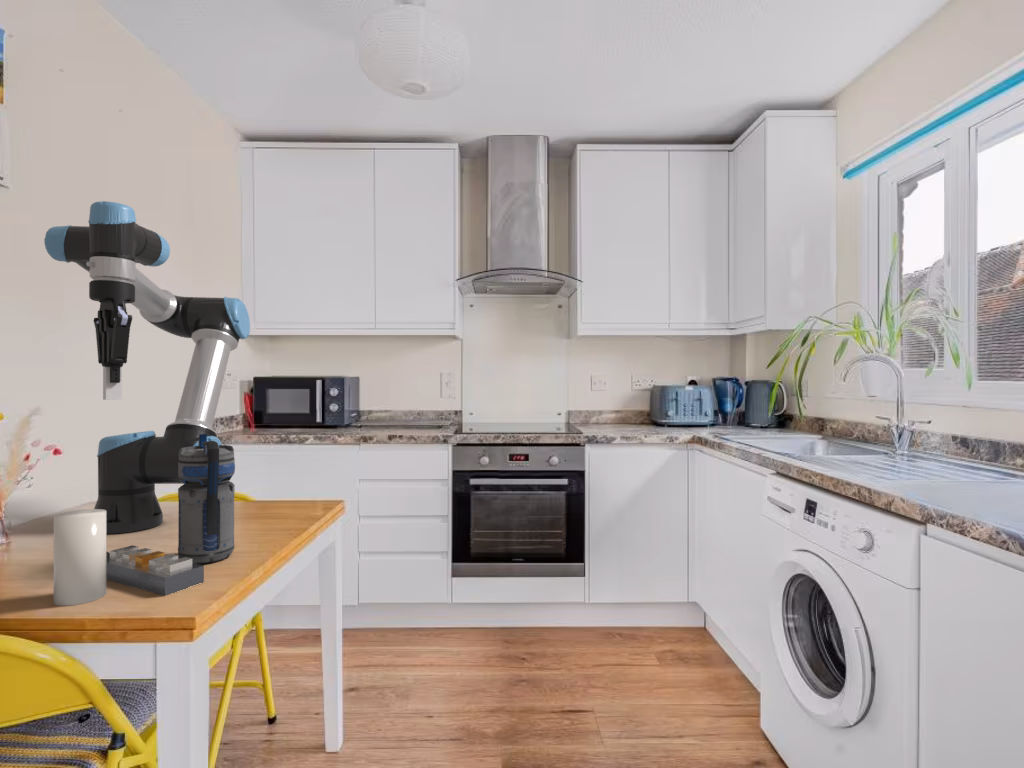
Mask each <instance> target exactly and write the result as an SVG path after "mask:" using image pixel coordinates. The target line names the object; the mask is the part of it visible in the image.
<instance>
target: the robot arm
mask: <svg viewBox="0 0 1024 768" xmlns="http://www.w3.org/2000/svg"><path fill="white" fill-rule="evenodd" d="M136 218H137V217H136V212H135V209H133V208H132V207H131V206H130V205H127V204H125V203H120V202H116V201H114V202H113V201H104V200H102V201H101V200H100V201H96V202H93V203H91V205H90V207H89V217H88V222H87V223H88V225H89V226H87V225H86V226H79V225H70V224H69V225H68V224H67V225H61V226H60V225H59V226H57V225H56V226H52V227H50V228H48V229H47V231H46V233H45V235H44V236H45V237H44V241H43V242H44V246H45V247H44V248H45V249H46V252H47V254H48V255H49V256H50V257H51V258H52V259H53V260H55V261H58V262H64V263H67V264H68V263H75V264H77V265H78V266H80V267H81V268H83V269H84V270H85V272H88V273H89V278H90V279H91V281H89V283H88V284H89V285H88V289H89V291H88V293H89V295H88V298H89V299H90V300H91V301H94V302H98V303H99V309H98V311H97V317H94V319H93V324H94V327H95V338H96V347H97V359H98V360H97V361H98V364H101V367H102V400H105V401H110V400H111V401H113V400H118V401H119V400H122V399H123V398H122V397H123V396H122V391H123V390H122V383H123V379H122V376H123V375H122V370H123V369H122V368H123V367H124V364H127V363H128V354H129V353H128V351H129V343H130V342H129V341H130V330H131V326H132V321H133V315H132V314H128V311H127V306H126V304H131V305H132V306H133V307H135V308H136V309H138V310H139V314H140V316H141V317H142V318H143V319H144V320H146V321H147V322H148V323H150V324H152V325H153V326H154V327H156V328H158V329H160V330H162V331H164V332H166V333H169V334H171V335H174V336H177V337H179V338H180V337H181V338H184V339H185V338H186V339H191V340H192V341H193V343H195V346H194V349H193V352H192V357H191V360H190V363H189V364H190V365H189V368H188V372H187V375H186V379H185V382H184V386H183V389H182V392H181V394H182V395H181V396H180V401H179V405H178V409H177V413H176V416H175V420H174V421H173V422H171V423H169V424H168V425H166V427H165V430H164V434H163V436H156V435H157V434H156V432H155V431H154V430H146V431H138V432H132V433H124V434H116V435H111V436H110V435H109V436H105V437H103V438H101V439H100V440H99V442H98V447H97V448H98V449H97V455H96V457H97V500H96V503H95V506H94V508H93V509H103V510H106V535H108V534H109V535H110V534H124V533H133V532H138V531H143V530H149V529H152V528H155V527H158V526H161V525H162V524H163V523H164V514H163V510H162V508H161V505H160V502H159V500H158V498H157V495H156V491H155V490H156V488H155V487H156V484H157V485H170V484H171V485H172V484H173V485H175V484H176V485H177V484H178V485H179V484H180V485H181V484H182V485H184V484H183V482H182V481H181V480H180V479H179V477H178V461H179V451H180V449H181V448H184V447H191V446H199V434H207V441H215V442H217V443H218V445H223V443H222V442H221V440H220V439H219V438H218V437H217V436H218V434H217V432H216V431H215V430H214V428H213V425H214V421H215V418H216V412H217V408H218V406H219V405H218V404H219V400H220V396H221V392H222V387H223V383H224V378H225V375H226V370H227V367H228V366H227V365H228V362H229V358H230V354H231V352H233V351H235V350H236V349H237V348H238V345H239V341H240V340H245V339H248V338H249V336H250V332H251V321H250V317H249V312H248V309H247V307H246V304H245V303H244V302H243V300H241V299H239V298H236V297H227V296H224V297H205V296H202V297H198V296H195V297H193V296H181V295H180V296H179V295H175V294H173V293H172V292H171V291H169V290H166V289H162V288H161V287H159V285H157V284H156V283H155V282H153V281H152V280H151V279H150V278H149V277H147V275H145V274H144V273H143V272H142V271H140V270H139V269H138V268H137V267H136V264H140V265H143V266H145V267H160V266H162V265H163V264H164V263H166V262H167V261H168V259H169V257H170V255H171V248H170V243H168V241H167V239H166V238H165V237H163V236H161V235H160V234H159V233H157V232H156V231H153V230H150V229H148V228H146V227H143V226H141V225H139V224H138V223H136V222H137V219H136Z"/></svg>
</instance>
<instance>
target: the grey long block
mask: <svg viewBox="0 0 1024 768" xmlns="http://www.w3.org/2000/svg"><path fill="white" fill-rule="evenodd" d="M109 553H110V557H109V558H106V581H110V582H113V581H114V583H117V584H120V583H121V585H125V586H127V585H128V586H127V587H131V588H134V587H135V588H134V589H137V590H142V591H145V590H146V591H145V592H149V593H152V594H157V595H159V594H160V596H163V595H164V596H163V597H166V595H167V596H170V595H172V594H171V593H173V594H176V593H178V592H177V591H179V592H181V591H180V590H182V591H184V590H183V589H185V590H187V589H186V588H188V587H190V586H193V585H196V584H199V583H202V584H204V583H205V565H204V564H195V563H192V559H191V558H187V557H184V558H179V556H178V554H173V553H171V554H170V553H169V554H166V555H165V553H166V552H163V551H161V550H157V551H153V552H152V549H150V548H146V547H144V548H139V546H137V545H133V544H132V545H129V546H124V547H121V548H120V547H119V548H116V549H112V550H109ZM203 582H204V583H203ZM199 585H200V584H199ZM196 586H197V585H196ZM193 587H194V586H193ZM188 589H189V588H188ZM175 592H176V593H175ZM169 594H170V595H169Z"/></svg>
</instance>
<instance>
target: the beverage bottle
mask: <svg viewBox="0 0 1024 768" xmlns="http://www.w3.org/2000/svg"><path fill="white" fill-rule="evenodd" d="M234 451H235V450H234V448H233V445H225V444H222V445H218V443H217V442H215V441H207V434H199V446H191V447H184V448H181V449H180V451H179V461H178V477H179V479H180V480H181V481H182V482H183V484H182V485H180V486H179V488H178V487H177V488H178V489H177V499H178V544H177V545H178V546H177V555H178V559H180V558H184V557H187V558H191V559H192V563H195V564H199V565H204V564H211V563H215V562H219V561H222V560H224V559H225V558H228V557H230V556H231V555H232V554H233V552H234V550H235V490H236V489H235V484H234V482H232V481H231V479H232V477H233V476H234V474H235V471H236V463H235V461H236V459H235V452H234Z"/></svg>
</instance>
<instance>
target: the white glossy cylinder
mask: <svg viewBox="0 0 1024 768" xmlns="http://www.w3.org/2000/svg"><path fill="white" fill-rule="evenodd" d="M106 551H107V534H106V510H103V509H94V508H87V509H78V510H77V509H76V510H71V511H70V510H69V511H66V512H61V513H57V514H55V515H54V516H53V604H54V605H55V606H59V607H66V606H67V607H69V606H78V605H83V604H88V603H91V602H95V601H97V600H100V599H102V598H104V597H105V596H106V595H107V580H106Z"/></svg>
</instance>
